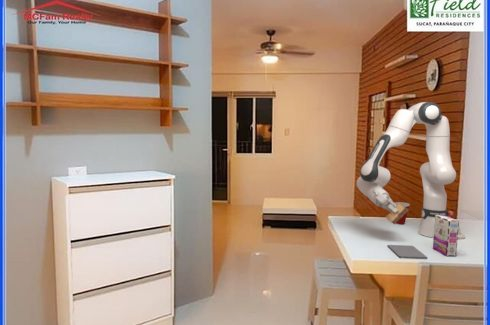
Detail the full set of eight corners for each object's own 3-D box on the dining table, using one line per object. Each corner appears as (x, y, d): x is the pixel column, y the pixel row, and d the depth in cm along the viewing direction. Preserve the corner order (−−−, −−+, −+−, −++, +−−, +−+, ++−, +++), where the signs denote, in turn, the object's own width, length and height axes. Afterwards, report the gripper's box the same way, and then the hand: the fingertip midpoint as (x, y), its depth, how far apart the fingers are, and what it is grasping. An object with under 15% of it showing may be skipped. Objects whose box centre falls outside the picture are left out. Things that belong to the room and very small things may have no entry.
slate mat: (412, 247, 182) (412, 245, 182) (427, 259, 166) (427, 257, 166) (387, 246, 182) (387, 244, 182) (399, 258, 166) (399, 256, 166)
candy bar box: (457, 256, 170) (459, 220, 168) (446, 256, 170) (449, 220, 168) (442, 248, 181) (444, 214, 180) (432, 248, 181) (434, 214, 179)
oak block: (388, 219, 192) (402, 205, 190) (394, 224, 189) (408, 209, 187) (385, 216, 190) (399, 202, 188) (391, 222, 187) (405, 207, 185)
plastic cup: (386, 221, 232) (387, 201, 231) (403, 221, 233) (404, 201, 232) (394, 225, 221) (395, 205, 220) (412, 225, 222) (413, 205, 221)
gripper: (375, 185, 191) (395, 201, 181) (391, 200, 204) (411, 215, 194) (367, 194, 192) (386, 211, 182) (383, 208, 205) (402, 224, 195)
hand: (399, 213), depth 188 cm, fingers closed on oak block, 4 cm apart
